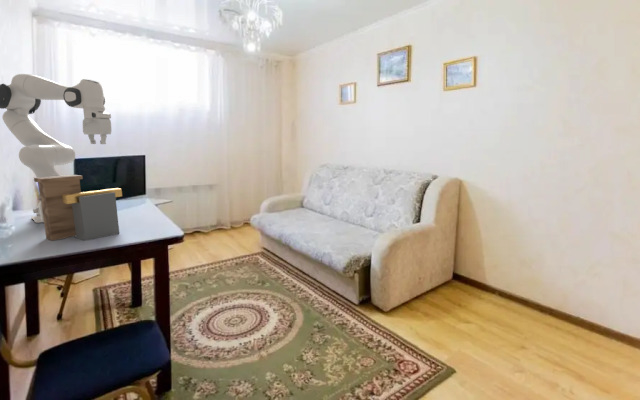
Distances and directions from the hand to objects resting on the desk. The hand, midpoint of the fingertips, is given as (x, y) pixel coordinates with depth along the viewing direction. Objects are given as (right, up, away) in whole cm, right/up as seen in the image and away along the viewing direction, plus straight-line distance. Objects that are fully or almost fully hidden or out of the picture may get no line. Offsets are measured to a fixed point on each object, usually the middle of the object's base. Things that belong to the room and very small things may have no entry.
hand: (98, 144), depth 170 cm
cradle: (+10, -43, -16) cm, 47 cm away
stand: (-3, -43, -17) cm, 46 cm away
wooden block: (+10, -27, -19) cm, 34 cm away
